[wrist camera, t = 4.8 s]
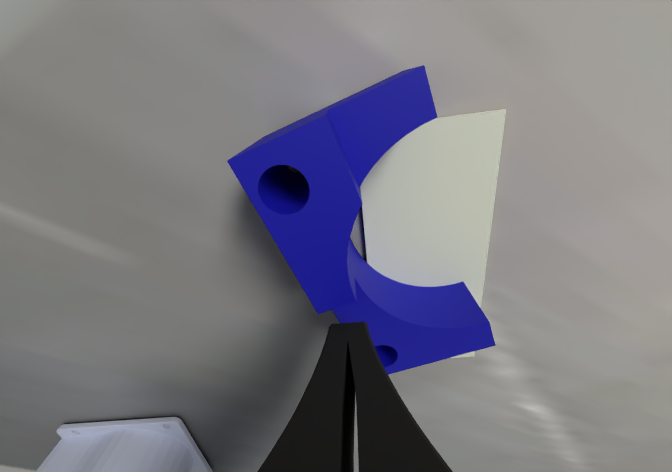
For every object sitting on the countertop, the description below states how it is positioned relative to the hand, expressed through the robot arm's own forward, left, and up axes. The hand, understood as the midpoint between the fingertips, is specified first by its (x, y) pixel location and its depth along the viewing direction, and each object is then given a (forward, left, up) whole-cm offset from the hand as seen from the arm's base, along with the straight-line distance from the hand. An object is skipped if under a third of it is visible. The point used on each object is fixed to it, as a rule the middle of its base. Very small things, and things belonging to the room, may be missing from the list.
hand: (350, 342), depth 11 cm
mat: (+4, 0, -5) cm, 6 cm away
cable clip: (-1, +1, -2) cm, 3 cm away
